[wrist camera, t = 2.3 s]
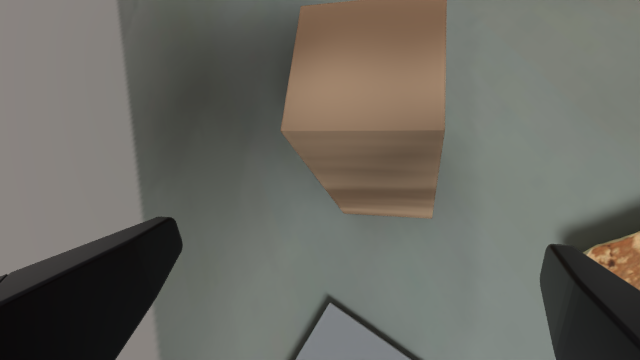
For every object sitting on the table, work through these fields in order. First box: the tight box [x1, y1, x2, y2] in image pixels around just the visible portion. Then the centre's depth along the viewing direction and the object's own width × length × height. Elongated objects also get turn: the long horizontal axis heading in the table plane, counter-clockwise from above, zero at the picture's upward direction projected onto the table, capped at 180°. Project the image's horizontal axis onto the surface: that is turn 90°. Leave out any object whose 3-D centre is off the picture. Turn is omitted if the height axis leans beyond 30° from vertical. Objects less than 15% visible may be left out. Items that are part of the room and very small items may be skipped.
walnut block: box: [281, 0, 447, 218], centre depth 17 cm, size 5×5×11 cm
